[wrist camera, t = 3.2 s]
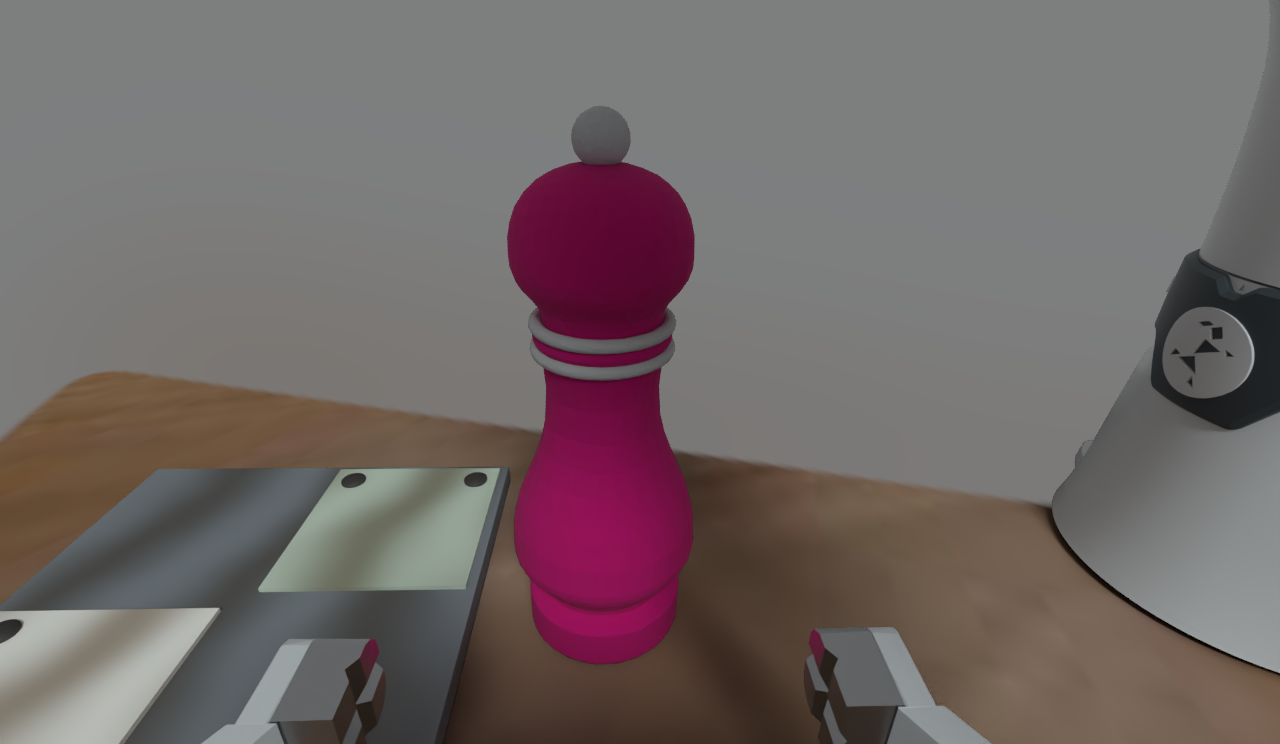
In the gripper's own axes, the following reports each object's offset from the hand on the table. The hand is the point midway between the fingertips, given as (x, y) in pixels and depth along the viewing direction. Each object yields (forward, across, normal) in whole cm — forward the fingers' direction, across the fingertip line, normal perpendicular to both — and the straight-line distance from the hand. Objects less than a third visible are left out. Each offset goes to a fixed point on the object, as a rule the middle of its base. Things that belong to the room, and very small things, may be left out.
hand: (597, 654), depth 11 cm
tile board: (+11, +15, +11) cm, 22 cm away
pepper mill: (+12, 0, +11) cm, 16 cm away
